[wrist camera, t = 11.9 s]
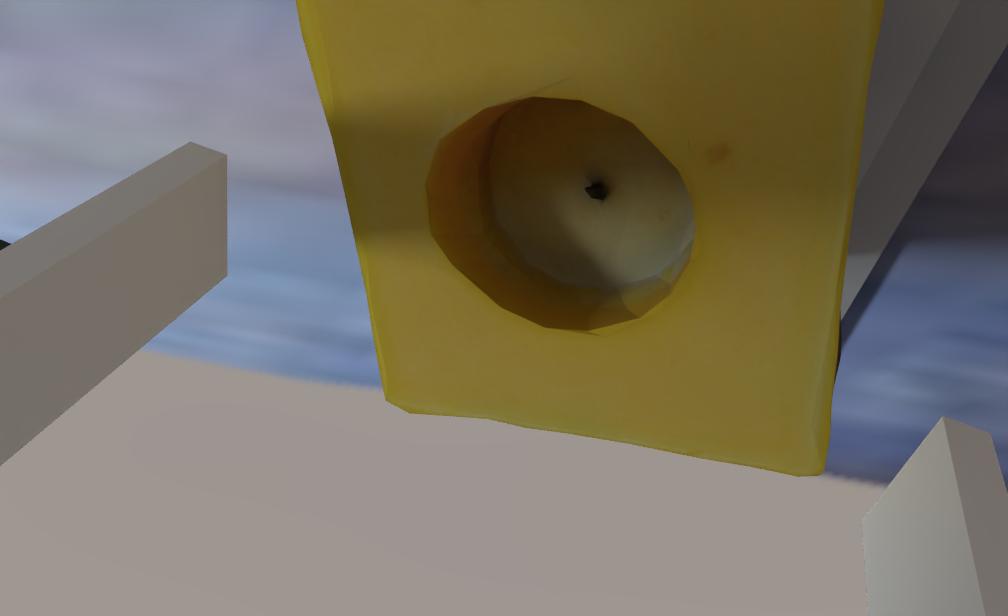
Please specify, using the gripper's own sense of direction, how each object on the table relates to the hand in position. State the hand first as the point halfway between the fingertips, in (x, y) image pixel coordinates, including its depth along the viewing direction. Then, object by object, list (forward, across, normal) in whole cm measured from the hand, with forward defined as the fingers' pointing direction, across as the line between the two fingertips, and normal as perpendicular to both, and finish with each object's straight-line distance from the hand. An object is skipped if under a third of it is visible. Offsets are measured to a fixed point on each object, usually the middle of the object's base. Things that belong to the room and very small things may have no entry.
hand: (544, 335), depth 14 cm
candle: (+12, 0, +1) cm, 12 cm away
